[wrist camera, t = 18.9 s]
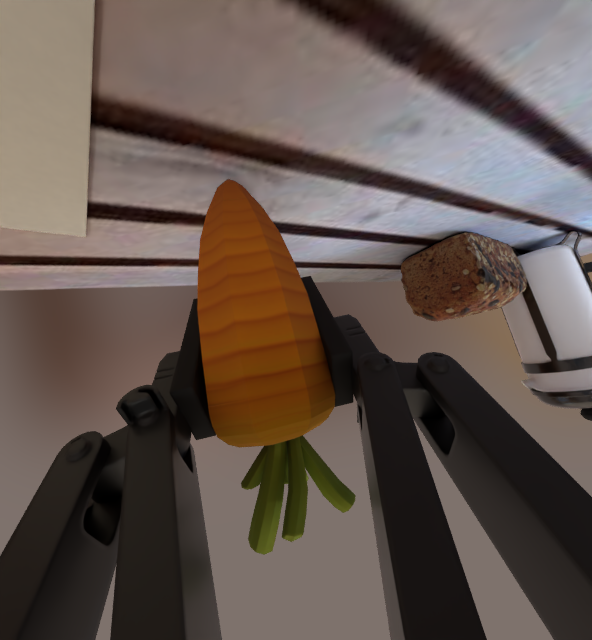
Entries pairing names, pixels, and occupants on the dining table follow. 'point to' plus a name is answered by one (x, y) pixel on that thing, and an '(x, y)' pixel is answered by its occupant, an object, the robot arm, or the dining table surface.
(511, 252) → the bread
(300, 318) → the carrot
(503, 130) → the dining table surface
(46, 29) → the napkin
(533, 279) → the coffee press
